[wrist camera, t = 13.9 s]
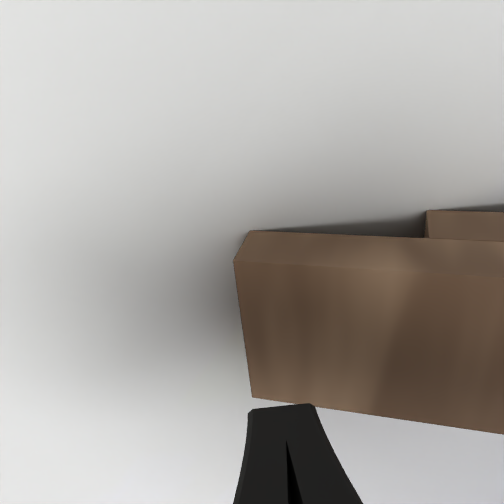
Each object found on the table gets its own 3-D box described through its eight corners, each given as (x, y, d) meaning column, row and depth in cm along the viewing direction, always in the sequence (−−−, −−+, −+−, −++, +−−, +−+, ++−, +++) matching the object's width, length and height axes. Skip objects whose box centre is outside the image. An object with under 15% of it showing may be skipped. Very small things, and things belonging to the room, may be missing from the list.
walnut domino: (249, 230, 13) (576, 244, 11) (264, 360, 16) (532, 393, 13) (233, 260, 12) (599, 283, 10) (252, 397, 14) (545, 440, 12)
